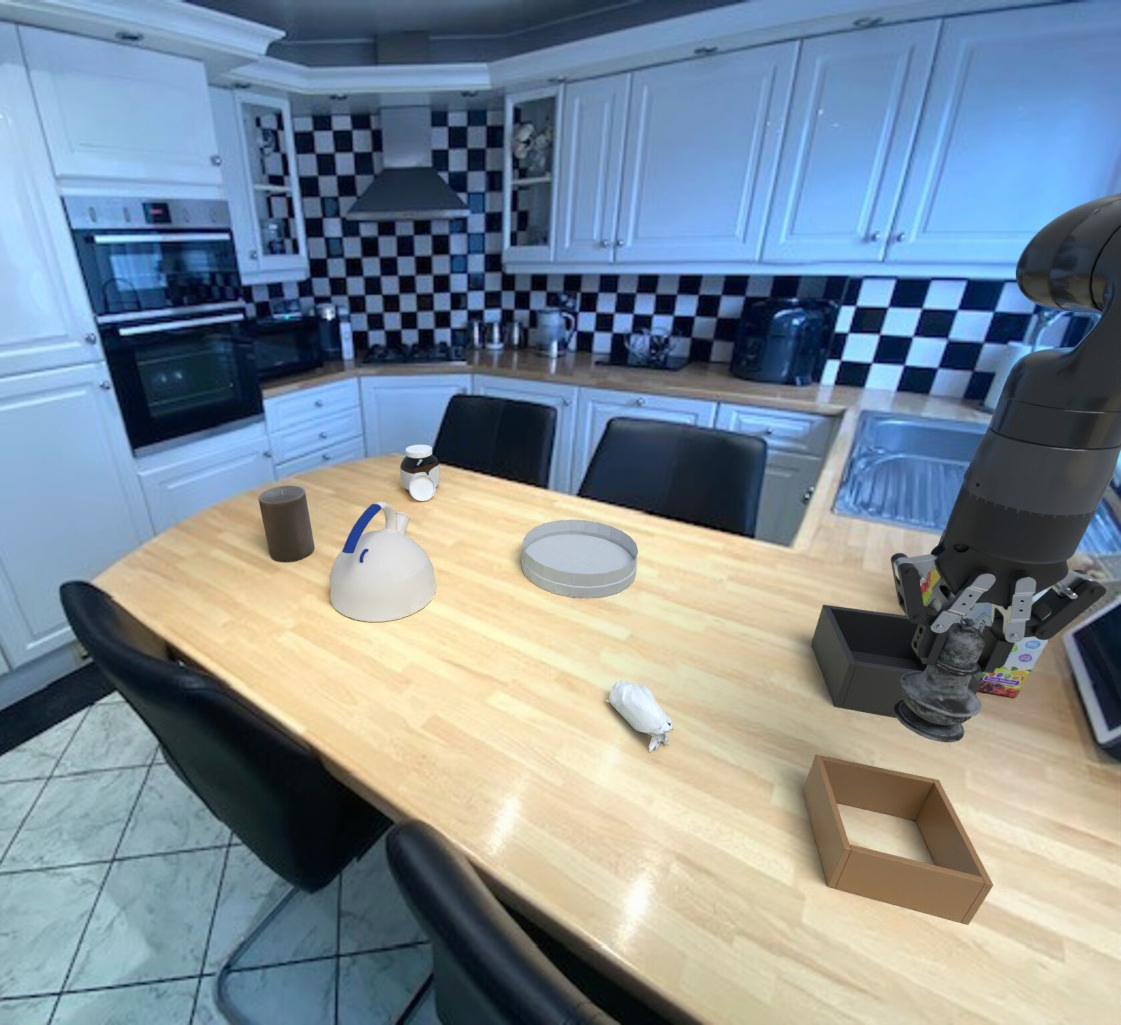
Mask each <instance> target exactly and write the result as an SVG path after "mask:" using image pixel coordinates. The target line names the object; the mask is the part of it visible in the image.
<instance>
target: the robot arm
mask: <svg viewBox="0 0 1121 1025" xmlns="http://www.w3.org/2000/svg"><path fill="white" fill-rule="evenodd" d="M1015 280H1016V284H1017V287H1018V289H1019V291H1020V292H1021V294H1022V295H1023V296H1024V297H1025V298H1026V299H1028V300H1029V301H1030V302H1031V303H1034V304H1035V305H1036V306H1040V307H1043V308H1047V309H1049V310H1055V311H1061V312H1071V313H1072V312H1073V313H1081V314H1092V315H1099V316H1100V317H1099V319H1098V321H1097V322H1096V323H1095V324H1094V326H1093V327H1092V328H1091V329H1090V330H1089V332H1088V333H1087V334H1085V336H1084V337H1083V338H1082V339H1081V340H1080V341H1079V342H1078V343H1077V345H1075V346H1070V347H1068V346H1066V347H1065V346H1064V347H1052V348H1044V349H1039V350H1035V351H1031V352H1029V353H1026V354H1024V355H1023V356H1021V357H1020V358H1018V360H1016V362H1015V363H1014V365H1013V366H1012V367H1011V369H1010V371H1009V373H1008V375H1007V377H1006V379H1005V381H1004V384H1003V387H1002V389H1001V392H1000V395H999V397H998V400H997V403H996V405H995V408H994V411H993V414H992V416H991V419H990V422H989V425H988V426H987V429H986V431H985V432H984V434H983V436H982V438H981V440H980V441H979V442H978V445H977V447H976V448H975V450H974V451H973V455H972V457H971V460H970V462H969V465H968V467H967V468H966V470H965V471H964V474H963V481H962V483H961V486H960V489H959V490H958V494H957V496H956V499H955V501H954V504H953V507H952V510H951V512H950V515H949V517H948V520H947V523H946V526H945V529H946V530H945V536H944V539H943V540H942V541H941V543H940V544H939V545H938V544H937V545H936V546H934V548H932V550H931V551H930V553H928V554H923V555H917V556H911V557H910V556H907V554H905V553H903V552H896V553H894V554H892V555H891V557H890V564H891V570H892V575H893V582H894V586H895V592H896V598H897V602H898V603H897V604H898V606H899V607H900V609H901V611H902V612H903V614H904V615H905V616H906V617H907V618H908V620H909V621H910V622H911V623H913V624H918V627H917V629H916V632H915V635H914V637H913V640H912V642H911V644H912V648H913V649H914V651H915V653H916V654H917V656H918V657H919V658H920V659H921V661H922V663H923V664H929V665H935V664H936V661H937V659H938V657H939V654H940V652H941V649H942V647H943V645H944V642H945V640H946V637H947V635H948V634H947V633H946V631H947V630H948V629H949V627H950V626H951V625H952V624H953V622H954V621H955V620H956V619H957V618H958V616H960V615H961V616H964V615H965V614H966V613H967V612H968V611H969V610H970V608H971V607H972V606H973V605H974V603H991V604H992V611H991V623H992V626H985V627H984V630H983V632H982V633H983V635H984V636H985V638H986V643H985V646H984V648H983V650H982V652H981V655H980V657H979V659H978V661H977V663H978V664H979V666H980V672H984V673H991V674H992V673H994V671H995V669H996V668H999V669H1000V668H1001V667H1002V666H1004V665H1005V663H1006V661H1007V659H1008V657H1009V655H1010V653H1011V651H1012V648H1013V646H1014V644H1015V643H1016V642H1019V641H1021V640H1022V639H1023V638H1026V637H1036V638H1037V639H1040V640H1048V639H1049V640H1050V639H1052V638H1054V637H1055V636H1056V635H1057V634H1059V633H1060V632H1061V631H1062V630H1064V629H1065V628H1066V627H1067V626H1068V625H1070V624H1071V623H1072V622H1073V621H1074V620H1076V619H1077V618H1078V617H1079V616H1080V615H1082V614H1083V613H1084V612H1086V610H1088V609H1089V608H1090V607H1091V606H1093V605H1094V604H1095V603H1097V602H1098V601H1099V600H1100V599H1102V597H1104V596H1105V595H1106V594H1107V589H1106V587H1104V586H1103V585H1102V584H1101V583H1100V582H1099V581H1098V580H1096V578H1094V577H1093V576H1092V575H1090V574H1088V573H1087V572H1086V571H1084V570H1083V569H1070V568H1069V565H1068V562H1067V560H1070V559H1071V558H1073V557H1074V555H1075V553H1076V552H1077V549H1078V547H1079V546H1080V543H1081V542H1082V540H1083V538H1084V535H1085V534H1086V531H1087V529H1088V528H1089V525H1090V523H1091V521H1092V519H1093V518H1094V515H1095V514H1096V512H1097V509H1098V508H1099V506H1100V503H1101V501H1102V500H1103V498H1104V495H1105V494H1106V491H1107V490H1108V488H1109V486H1110V484H1111V482H1112V479H1113V477H1114V475H1115V473H1116V469H1117V464H1118V461H1119V457H1120V454H1121V192H1119V193H1115V194H1114V193H1113V194H1110V195H1106V196H1102V197H1099V198H1096V199H1093V200H1089V201H1087V202H1085V203H1082V204H1079V205H1076V206H1075V207H1073V208H1071V209H1069V210H1067V211H1065V212H1063V213H1062V214H1060V215H1058V216H1057V217H1055V218H1054V219H1053V220H1051V221H1050V222H1048V223H1047V224H1046V225H1045V226H1043V227H1042V228H1041V229H1040V230H1038V231H1037V233H1036V234H1034V235H1033V237H1032V238H1031V239H1030V240H1029V241H1028V243H1027V244H1026V245H1025V246H1024V248H1023V250H1022V252H1021V253H1020V255H1019V258H1018V260H1017V263H1016V267H1015ZM933 569H936V570H937V572H938V573H939V575H940V579H939V580H938V581H937V583H936V584H935V585H934V587H933V588H932V595H931V597H930V598H929V599H928V601H927V602H926V603H925V605H924V603H923V597H922V591H921V585H922V583H925V582H926V579H927V578H928V573H929V572H930V571H931V570H933ZM1045 589H1047V590H1048V591H1047V592H1046V593H1045V594H1043V595H1042V596H1041V597H1040V598H1039V599H1038V600H1037V601H1035V602H1034V603H1033V604H1032V598H1033V596H1034V595H1036V594H1038V593H1040V592H1041V591H1043V590H1045ZM1050 613H1051V614H1050ZM1049 614H1050V615H1049ZM1045 617H1046V618H1045ZM1044 618H1045V619H1044ZM1043 619H1044V620H1043Z"/></svg>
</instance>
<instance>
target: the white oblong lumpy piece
mask: <svg viewBox="0 0 1121 1025" xmlns="http://www.w3.org/2000/svg"><path fill="white" fill-rule="evenodd" d="M605 702H607V703H609V704H611V705H612V707H613V708H614V709H615V710H616V711H617V712H618V713H619V715H620V716H621V717H623V718H624V720H625V721H626V722H627V723H628V724H629V725H630V726H631V727H632V728H633V730H635V731H637V732H639V733H643V734H648V735H649V736H651V740H650V742H649V743H648V752H649V753H653V752H654V749H655V751H658V750H659V749H658V747H659V746H660V745H661V742H662V743H663V744H664V746H667V745H668V743H667V742H668V741H669V738H668V735H667V733H671V732H672V731H674V728H673V720H672V719H671V718H670V717H669V715H668V714H666V712H665V711H664V710H663V708H661V707H660V705H659V704H658V702H657V700H656V699H655V697H654V695H653V692H652V691H651V690H650V689H649V688H648V687H647V686H645V685H643V684H640V685H636V684H635V683H634V682H629V681H627V680H619V681H615V683H614V684H613V685H612V687H611V690H610V692H609V698H608V699H606V700H605Z"/></svg>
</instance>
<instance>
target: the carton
mask: <svg viewBox="0 0 1121 1025" xmlns="http://www.w3.org/2000/svg"><path fill="white" fill-rule="evenodd" d="M802 794H803V797H804V801H805V804H806V809H807V812H808V817H809V821H810V824H811V828H812V832H813V835H814V839H815V843H816V848H817V850H818V855H819V858H820V861H821V865H822V868H823V873H824V876H825V880H826V885H827V887H828V888H832V889H835V890H839V891H843V892H847V893H849V894H854V895H858V896H861V897H864V898H868V899H872V900H876V901H880V902H883V903H887V904H891V905H895V906H898V907H901V908H906V909H910V910H912V911H916V912H920V913H925V914H928V915H930V916H931V915H932V916H935V917H938V918H943V919H946V920H950V921H954V922H958V923H962V924H964V925H970V924H971V922H972V920H973V919H974V917H975V916H976V914H977V912H978V911H979V909H980V908H981V906H982V904H983V903H984V901H985V900H986V898H987V897H988V895H989V893H990V892H991V890H992V889H993V887H994V883H993V881H992V879H991V877H990V876H989V873H988V872H987V870H986V868H985V866H984V864H983V861H982V859H981V858H980V857H979V855H978V853H977V851H976V848H975V846H974V845H973V843H972V841H971V839H970V837H969V835H968V834H967V832H966V829H965V827H964V826H963V824H962V822H961V819H960V818H959V816H958V813H957V811H956V810H955V808H954V806H953V804H952V802H951V800H950V799H949V797H948V795H947V793H946V791H945V789H944V787H943V785H942V783H941V781H940V780H939V779H937V778H931V777H926V776H922V775H917V774H913V773H908V772H902V771H897V770H893V769H888V768H884V767H879V766H875V765H874V766H873V765H869V764H864V763H859V762H854V761H849V760H845V759H839V758H834V757H831V756H827V755H820V754H814V757H813V760H812V762H811V766H810V769H809V771H808V775H807V777H806V780H805V783H804V786H803V789H802ZM838 804H841V805H844V806H845V805H846V806H850V807H854V808H859V809H863V810H866V811H870V812H876V813H880V814H884V815H889V816H893V817H898V818H902V819H905V820H911V821H915V822H916V824H917V826H918V829H919V830H920V833H921V835H922V838H923V840H924V842H925V844H926V846H927V848H928V852H929V854H930V855H931V857H932V860H933V862H934V864H931V863H927V862H923V861H920V860H914V859H911V858H907V857H902V856H899V855H894V854H891V853H887V852H882V851H879V850H873V849H870V848H867V847H863V846H859V845H854V844H850V842H849V839H848V835H847V832H846V828H845V826H844V823H843V819H842V817H841V813H840V810H839V808H838Z"/></svg>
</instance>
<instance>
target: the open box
mask: <svg viewBox="0 0 1121 1025" xmlns="http://www.w3.org/2000/svg"><path fill="white" fill-rule="evenodd" d="M917 627H918V624H913V623H911V622H910V621H909V620H908V618H907V617H906V615H905V614H897V613H891V612H890V613H889V612H882V611H874V610H867V609H861V608H860V609H859V608H852V607H844V606H836V605H829V604H822V606H821V610H820V613H819V617H818V620H817V623H816V626H815V629H814V633H813V636H812V640H811V643H810V646H811V648H812V651H813V653H814V656H815V659H816V661H817V664H818V666H819V669H820V671H821V675H822V678H823V680H824V682H825V685H826V688H827V691H828V693H829V696H830V698H831V701H832V704H833V706H834V707H835V708H840V709H846V710H852V711H856V712H863V713H867V714H873V715H878V716H885V717H890V718H895V719H897V718H896V716H895V714H894V710H893V708H894V705H895V704H896V703H897V702H898V701H901V700H903V695H902V690H901V688H902V687H901V685H900V679H901V676H902V675H904V674H905V673H907V672H911V671H925V669H926V668H927V665H928V664H923V663H922V661H921V659H920V658H919V657H918V656H917V654H916V653H915V651H914V649H913V648H912V644H911V642H912V640H913V637H914V635H915V632H916V629H917ZM979 686H980V683H979V681H978V680H977V679H976V677H975V676H974V675H972V677H971V679H970V682H969V684H968V687H967V688H969V689H970V690H971V691H972V692H973V693H975V695H976V696H977V693H978V692H979V691H978V689H979Z"/></svg>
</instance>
